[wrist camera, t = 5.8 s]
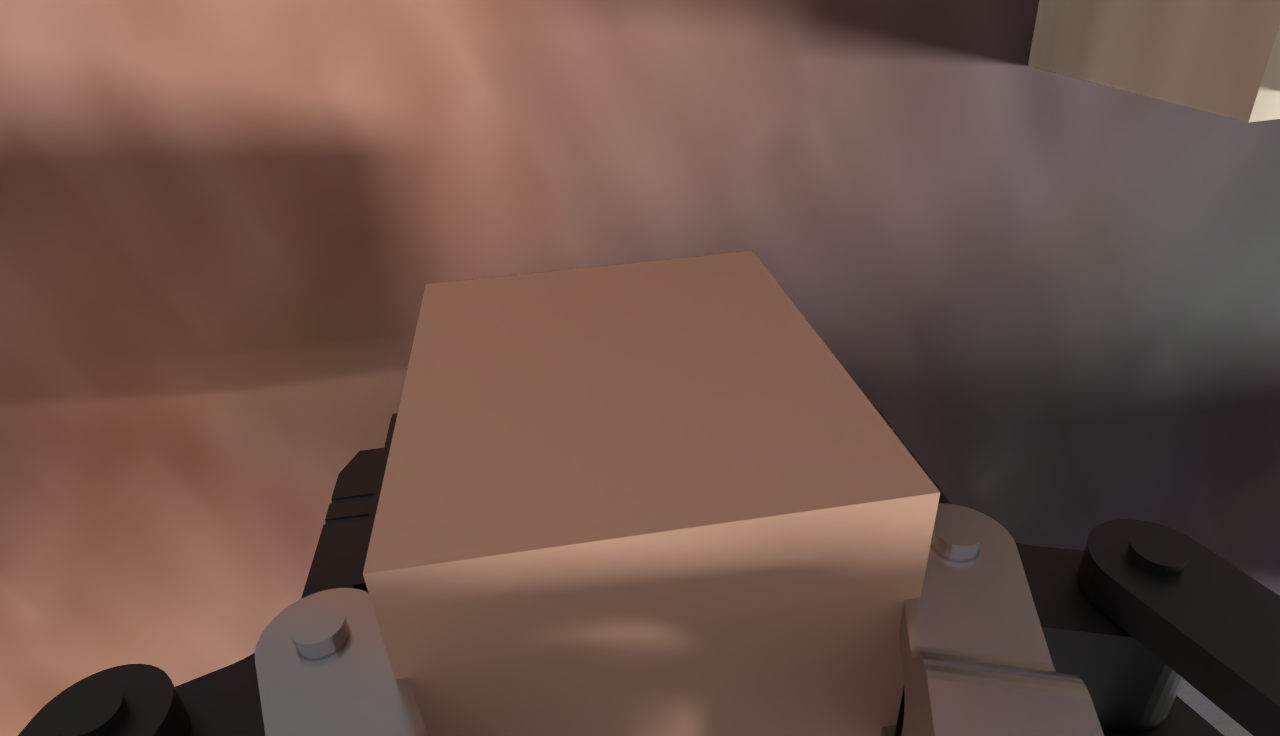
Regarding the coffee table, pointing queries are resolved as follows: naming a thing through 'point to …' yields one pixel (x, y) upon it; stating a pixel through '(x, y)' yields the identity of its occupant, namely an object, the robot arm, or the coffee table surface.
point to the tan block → (642, 512)
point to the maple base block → (1169, 50)
